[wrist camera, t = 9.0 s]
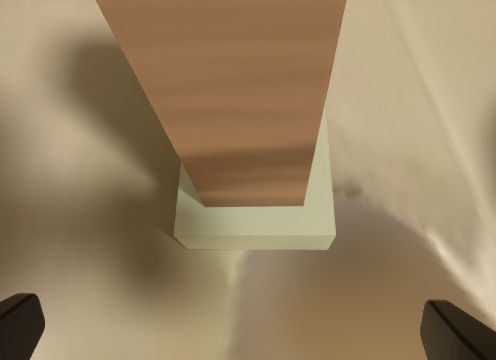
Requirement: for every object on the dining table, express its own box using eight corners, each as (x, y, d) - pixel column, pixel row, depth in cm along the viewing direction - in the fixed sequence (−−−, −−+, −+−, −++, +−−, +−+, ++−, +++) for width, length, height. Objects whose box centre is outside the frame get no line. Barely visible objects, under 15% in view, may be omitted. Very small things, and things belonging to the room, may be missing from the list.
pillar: (303, 206, 18) (350, -19, 7) (205, 207, 19) (93, -6, 7) (299, 121, 20) (329, -161, 9) (210, 124, 21) (130, -145, 9)
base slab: (327, 249, 20) (335, 235, 17) (187, 249, 21) (173, 235, 18) (318, 127, 23) (324, 99, 21) (197, 130, 24) (187, 102, 21)
